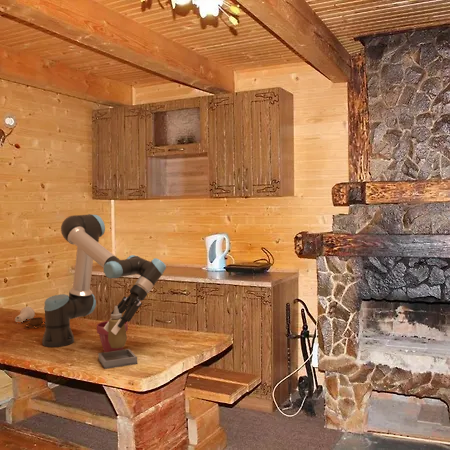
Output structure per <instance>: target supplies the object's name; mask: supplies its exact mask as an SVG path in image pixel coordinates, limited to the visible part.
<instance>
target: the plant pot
mask: <svg viewBox="0 0 450 450" xmlns="http://www.w3.org/2000/svg"><path fill="white" fill-rule="evenodd" d="M108 321H109V320H105V321H101V322H98V323H97V324H96V333H97V334H98V335H99V339H100V343H101V346H102V349H103V352H110V351H117V350H124V347H122V348H111V346H110V343H109V340H108V332H107V331H106V330H105V329H104V327H105V325H106V324H107V323H108ZM128 327H129V326H128V321H127V322H125V329H126V332H128V330H129V328H128Z"/></svg>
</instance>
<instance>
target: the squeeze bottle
mask: <svg viewBox="0 0 450 450" xmlns="http://www.w3.org/2000/svg"><path fill="white" fill-rule="evenodd" d="M113 310H114V313H113V314H111V313H110V319H108V321H109V331H108V340H109V343H110V346H111V348H122V347H123V348H124V347H125V346H126V342H127V340H128V337H127V331H126V329H125V323H124V325H123V326H122V327H121V329H120V330H119V331H118V333H117V334H116V335H115V334H114V333H112V332H111V330H112V329H113V327H114V326H115V325H116V323H117V322H118V321H119V319H121V318H120V317H123V313H122V314H121V313H119V310H118V306H117V305H114V308H113Z"/></svg>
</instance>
